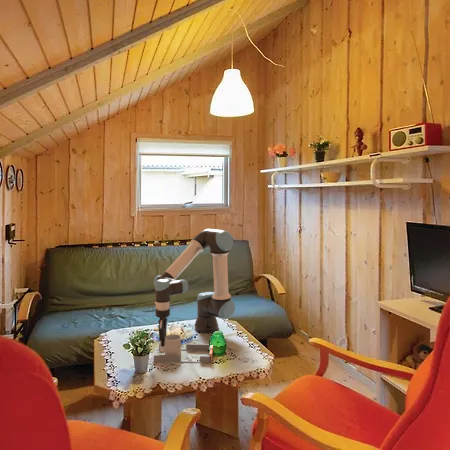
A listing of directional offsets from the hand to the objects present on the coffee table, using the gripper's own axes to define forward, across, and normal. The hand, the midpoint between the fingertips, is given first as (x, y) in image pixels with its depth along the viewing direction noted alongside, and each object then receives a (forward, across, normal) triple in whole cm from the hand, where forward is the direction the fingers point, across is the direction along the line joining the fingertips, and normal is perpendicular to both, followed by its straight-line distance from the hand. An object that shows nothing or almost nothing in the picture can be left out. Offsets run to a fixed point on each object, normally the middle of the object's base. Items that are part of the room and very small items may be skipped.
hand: (163, 351), depth 217 cm
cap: (-3, 0, +26) cm, 26 cm away
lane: (+2, 0, +12) cm, 12 cm away
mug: (+3, 0, +5) cm, 6 cm away
